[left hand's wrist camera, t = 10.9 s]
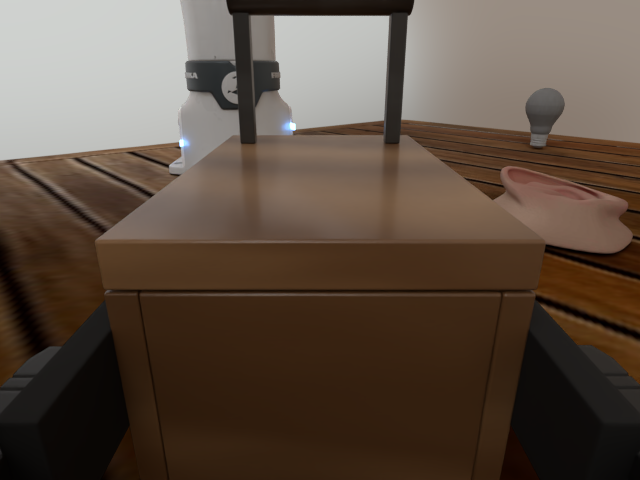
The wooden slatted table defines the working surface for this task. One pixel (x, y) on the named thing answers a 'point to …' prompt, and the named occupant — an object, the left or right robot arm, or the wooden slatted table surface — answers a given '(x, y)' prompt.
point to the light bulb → (543, 114)
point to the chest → (320, 382)
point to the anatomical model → (565, 211)
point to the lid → (320, 203)
